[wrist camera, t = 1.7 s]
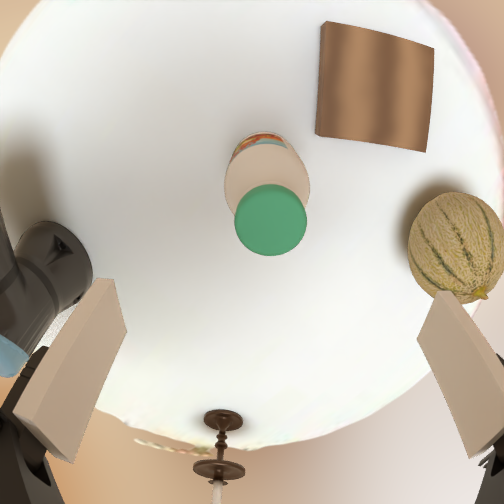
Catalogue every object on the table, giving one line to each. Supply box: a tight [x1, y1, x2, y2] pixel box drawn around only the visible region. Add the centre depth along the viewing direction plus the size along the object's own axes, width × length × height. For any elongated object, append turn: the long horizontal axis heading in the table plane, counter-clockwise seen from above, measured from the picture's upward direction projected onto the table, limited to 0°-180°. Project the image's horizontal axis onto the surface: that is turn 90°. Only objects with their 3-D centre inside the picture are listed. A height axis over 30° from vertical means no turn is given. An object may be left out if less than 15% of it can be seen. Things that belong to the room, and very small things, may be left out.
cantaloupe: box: [408, 192, 504, 304], centre depth 33 cm, size 15×15×15 cm
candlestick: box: [193, 409, 245, 504], centre depth 48 cm, size 11×11×35 cm
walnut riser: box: [315, 21, 434, 153], centre depth 30 cm, size 14×14×3 cm
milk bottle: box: [224, 132, 310, 256], centre depth 28 cm, size 8×8×20 cm
